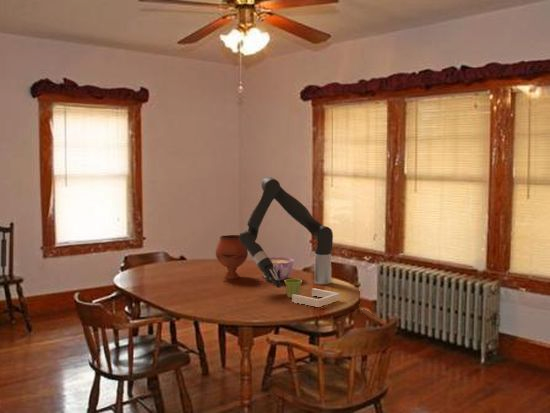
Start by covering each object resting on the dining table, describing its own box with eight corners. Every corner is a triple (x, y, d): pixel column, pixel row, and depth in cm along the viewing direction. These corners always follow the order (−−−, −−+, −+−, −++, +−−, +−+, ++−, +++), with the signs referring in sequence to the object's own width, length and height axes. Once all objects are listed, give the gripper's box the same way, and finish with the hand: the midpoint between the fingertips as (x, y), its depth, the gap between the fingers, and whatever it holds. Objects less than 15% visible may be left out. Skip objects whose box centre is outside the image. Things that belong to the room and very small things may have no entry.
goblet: (249, 274, 349) (249, 234, 347) (245, 281, 330) (245, 238, 327) (219, 273, 351) (219, 233, 348) (212, 280, 332) (212, 238, 329)
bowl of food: (290, 283, 324) (290, 264, 323) (256, 282, 328) (256, 262, 327) (296, 276, 343) (296, 257, 342) (264, 274, 347) (264, 256, 346)
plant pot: (287, 299, 289) (287, 283, 288) (281, 295, 298) (282, 279, 297) (304, 298, 291) (304, 282, 290) (298, 294, 300) (299, 278, 299)
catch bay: (313, 295, 297) (313, 288, 297) (339, 301, 286) (339, 293, 286) (292, 302, 283) (292, 294, 283) (318, 308, 273) (318, 300, 272)
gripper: (258, 258, 300) (275, 284, 293) (274, 255, 310) (291, 280, 303) (251, 267, 303) (268, 293, 297) (267, 263, 313) (284, 288, 307)
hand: (280, 286), depth 300 cm, fingers closed
